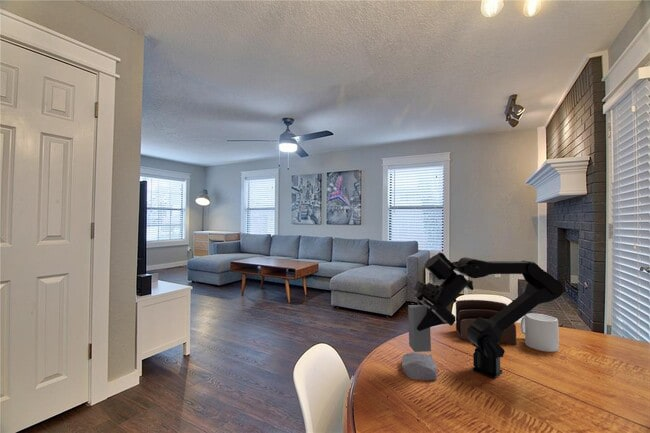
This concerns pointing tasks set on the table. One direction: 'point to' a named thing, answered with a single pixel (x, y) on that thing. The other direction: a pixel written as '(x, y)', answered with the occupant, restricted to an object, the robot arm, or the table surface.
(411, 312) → the pillar
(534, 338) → the mug
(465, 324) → the letter holder
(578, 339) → the table surface
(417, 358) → the stone block
